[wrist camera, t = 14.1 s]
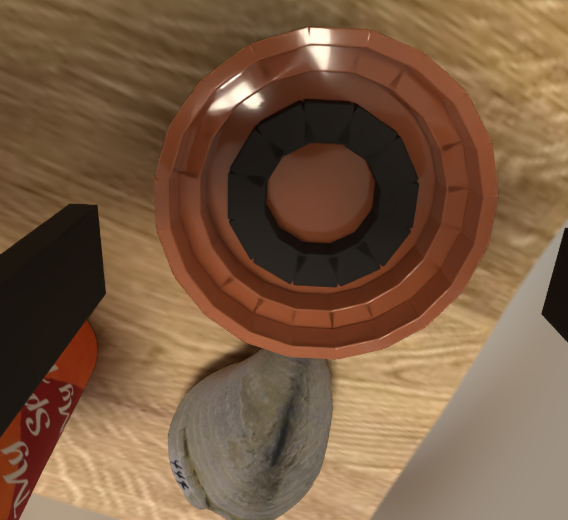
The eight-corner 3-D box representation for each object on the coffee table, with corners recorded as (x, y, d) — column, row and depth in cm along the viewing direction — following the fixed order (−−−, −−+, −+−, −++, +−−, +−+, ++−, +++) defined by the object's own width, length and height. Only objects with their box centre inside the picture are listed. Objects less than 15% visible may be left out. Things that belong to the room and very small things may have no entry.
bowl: (171, 23, 21) (145, 17, 18) (491, 39, 21) (533, 37, 18) (180, 308, 26) (161, 351, 23) (439, 322, 26) (463, 366, 23)
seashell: (211, 290, 26) (193, 342, 21) (366, 336, 27) (382, 396, 22) (159, 465, 30) (134, 541, 25) (294, 501, 31) (294, 580, 26)
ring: (232, 94, 22) (228, 97, 20) (421, 104, 22) (431, 108, 20) (230, 268, 25) (227, 282, 23) (397, 277, 25) (403, 291, 23)
